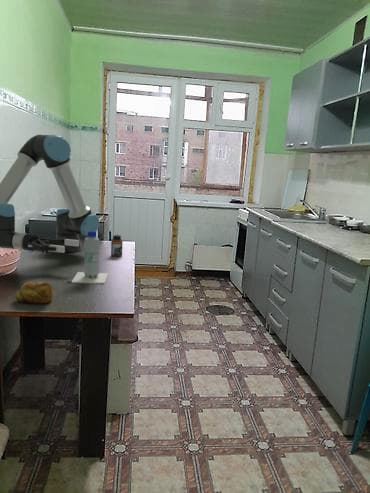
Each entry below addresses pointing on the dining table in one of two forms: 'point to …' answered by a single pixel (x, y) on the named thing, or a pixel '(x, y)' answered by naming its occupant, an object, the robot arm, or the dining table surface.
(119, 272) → the dining table surface
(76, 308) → the dining table surface
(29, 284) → the bread roll
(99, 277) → the mat
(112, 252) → the supplement bottle
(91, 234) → the bottle
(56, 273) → the dining table surface
